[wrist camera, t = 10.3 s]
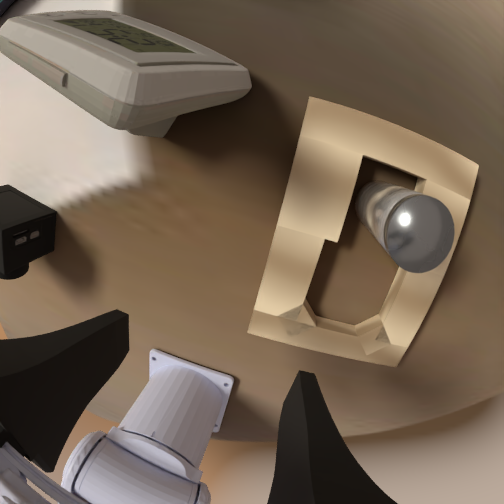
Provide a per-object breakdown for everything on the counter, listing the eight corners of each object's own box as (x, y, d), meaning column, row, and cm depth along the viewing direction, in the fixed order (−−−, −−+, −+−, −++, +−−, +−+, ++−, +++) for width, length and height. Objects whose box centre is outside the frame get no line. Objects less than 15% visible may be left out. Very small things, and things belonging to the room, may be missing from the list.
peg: (394, 233, 17) (441, 278, 10) (350, 223, 18) (378, 266, 10) (404, 186, 16) (462, 206, 9) (359, 175, 16) (397, 186, 9)
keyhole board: (391, 355, 20) (395, 367, 19) (251, 321, 21) (247, 332, 20) (467, 164, 15) (478, 165, 13) (309, 101, 16) (309, 96, 14)
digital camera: (6, 227, 24) (-36, 244, 17) (8, 184, 22) (-39, 195, 15) (54, 261, 23) (5, 288, 17) (57, 211, 22) (1, 230, 15)
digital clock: (269, 92, 16) (226, 14, 6) (173, 184, 19) (61, 214, 9) (137, -9, 14) (60, -60, 4) (71, 66, 17) (-20, 50, 7)
